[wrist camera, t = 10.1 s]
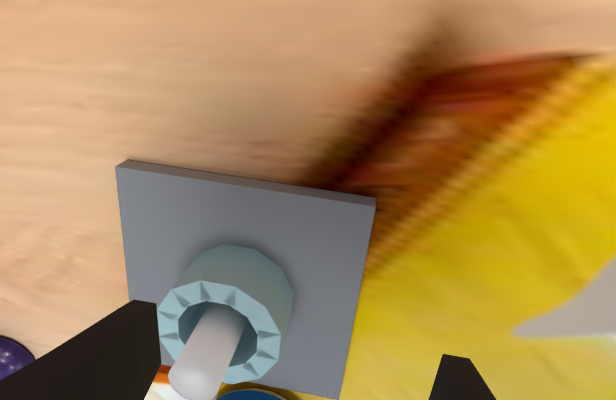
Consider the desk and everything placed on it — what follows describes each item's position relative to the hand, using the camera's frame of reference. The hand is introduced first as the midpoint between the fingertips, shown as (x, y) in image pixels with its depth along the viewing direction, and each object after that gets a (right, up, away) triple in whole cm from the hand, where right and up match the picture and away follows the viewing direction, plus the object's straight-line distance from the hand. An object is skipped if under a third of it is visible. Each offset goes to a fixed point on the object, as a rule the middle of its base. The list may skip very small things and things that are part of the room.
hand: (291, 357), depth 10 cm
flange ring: (-3, -1, +10) cm, 11 cm away
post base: (-3, 0, +11) cm, 11 cm away
